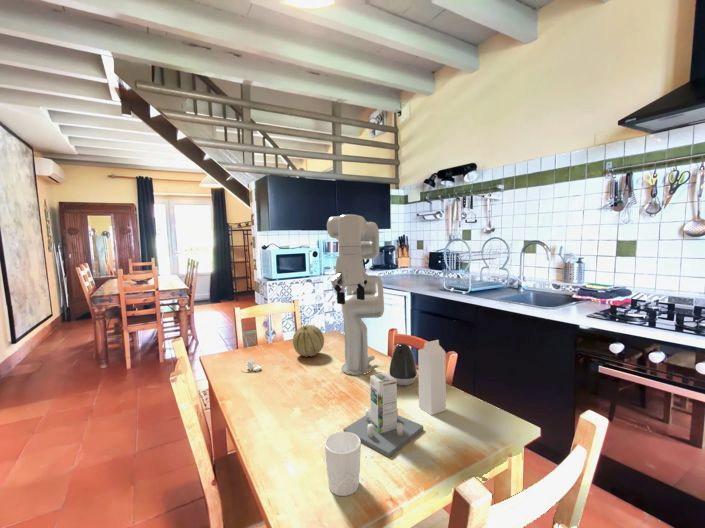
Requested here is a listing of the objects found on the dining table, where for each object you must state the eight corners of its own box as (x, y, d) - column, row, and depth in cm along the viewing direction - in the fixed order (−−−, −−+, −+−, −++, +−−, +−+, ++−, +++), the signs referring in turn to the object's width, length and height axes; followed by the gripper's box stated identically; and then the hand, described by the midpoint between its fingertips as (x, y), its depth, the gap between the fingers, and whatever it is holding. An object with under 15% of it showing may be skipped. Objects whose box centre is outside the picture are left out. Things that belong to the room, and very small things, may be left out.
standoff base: (379, 410, 104) (378, 398, 104) (423, 429, 94) (423, 415, 93) (343, 433, 93) (343, 418, 93) (389, 457, 82) (388, 441, 82)
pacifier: (264, 371, 140) (263, 361, 140) (245, 375, 136) (244, 366, 135) (257, 365, 147) (257, 356, 147) (239, 369, 143) (238, 360, 142)
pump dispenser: (385, 385, 122) (384, 345, 121) (395, 375, 132) (394, 338, 130) (412, 391, 118) (411, 349, 117) (420, 379, 127) (419, 341, 126)
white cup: (326, 474, 77) (324, 432, 76) (359, 471, 77) (358, 430, 77) (326, 500, 69) (324, 454, 68) (363, 497, 70) (362, 451, 69)
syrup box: (369, 424, 95) (368, 375, 94) (387, 419, 97) (386, 371, 96) (379, 434, 90) (378, 382, 89) (398, 428, 92) (397, 378, 91)
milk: (445, 410, 104) (446, 342, 102) (431, 415, 101) (431, 345, 99) (432, 402, 109) (432, 337, 108) (418, 407, 106) (418, 340, 105)
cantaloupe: (325, 350, 164) (324, 320, 163) (324, 360, 150) (323, 328, 149) (295, 351, 164) (294, 321, 162) (291, 362, 149) (289, 329, 148)
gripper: (358, 250, 120) (359, 297, 121) (323, 252, 108) (324, 304, 109) (374, 250, 115) (375, 299, 116) (339, 252, 102) (340, 307, 104)
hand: (351, 301), depth 112 cm, fingers open, 9 cm apart
